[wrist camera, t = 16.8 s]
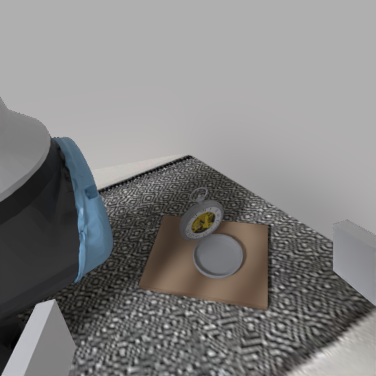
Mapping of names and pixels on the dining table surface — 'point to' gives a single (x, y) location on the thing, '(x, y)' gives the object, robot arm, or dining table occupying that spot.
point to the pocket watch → (210, 239)
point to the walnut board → (200, 284)
